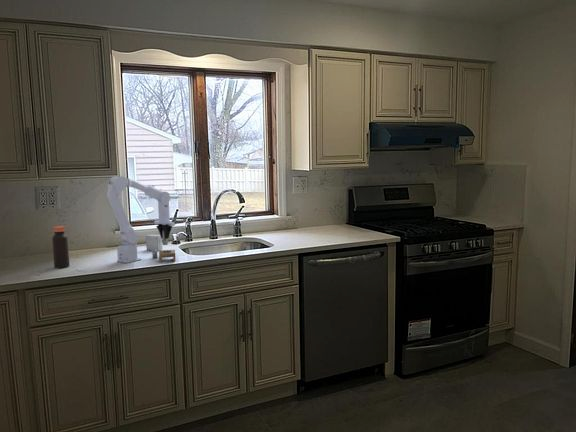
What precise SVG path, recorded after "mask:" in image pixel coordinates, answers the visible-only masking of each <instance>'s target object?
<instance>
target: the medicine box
mask: <svg viewBox="0 0 576 432" xmlns="http://www.w3.org/2000/svg"><path fill="white" fill-rule="evenodd" d="M145 242H146V245H145V246H146V247H145V248H146V251H153V250H157V252H158V251H160V250H163V238H161V236H160V234H147V235H145Z"/></svg>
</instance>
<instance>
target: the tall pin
mask: <svg viewBox="0 0 576 432" xmlns="http://www.w3.org/2000/svg"><path fill="white" fill-rule="evenodd" d="M168 244H169V243H168V239H165V237H164V230H162V246H168Z"/></svg>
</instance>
